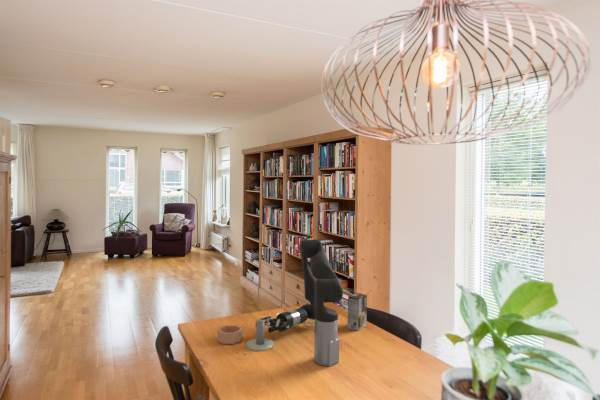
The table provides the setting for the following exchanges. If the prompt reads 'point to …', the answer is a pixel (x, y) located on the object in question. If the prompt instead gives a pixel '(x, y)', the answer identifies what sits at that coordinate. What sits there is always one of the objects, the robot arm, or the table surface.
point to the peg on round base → (260, 339)
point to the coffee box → (357, 311)
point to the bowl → (229, 334)
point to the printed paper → (305, 322)
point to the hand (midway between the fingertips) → (262, 327)
